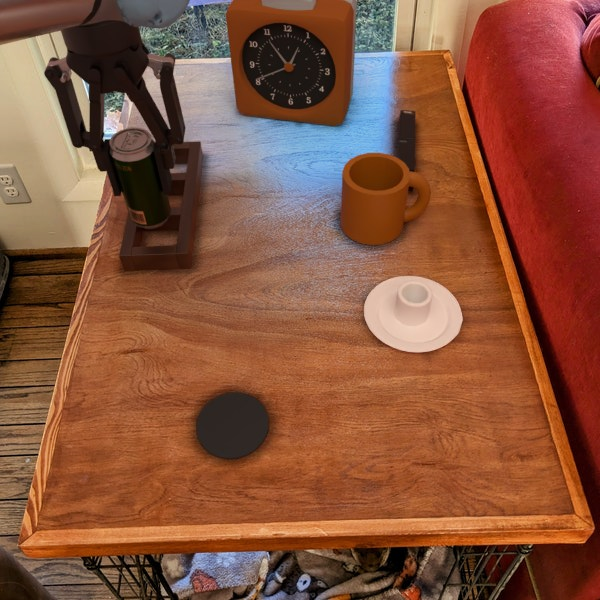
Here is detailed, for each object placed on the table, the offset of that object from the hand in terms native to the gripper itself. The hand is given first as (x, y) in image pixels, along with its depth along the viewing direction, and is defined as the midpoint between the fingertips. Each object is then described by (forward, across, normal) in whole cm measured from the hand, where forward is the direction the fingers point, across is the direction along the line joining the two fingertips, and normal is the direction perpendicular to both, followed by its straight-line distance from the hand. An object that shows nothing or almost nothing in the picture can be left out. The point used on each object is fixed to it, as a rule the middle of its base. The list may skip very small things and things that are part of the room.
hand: (143, 187), depth 78 cm
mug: (+11, -31, -3) cm, 33 cm away
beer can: (+5, 0, 0) cm, 5 cm away
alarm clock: (+10, -20, -32) cm, 39 cm away
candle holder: (+11, -33, +14) cm, 37 cm away
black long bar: (+10, -36, -18) cm, 42 cm away
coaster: (+11, -11, +28) cm, 32 cm away
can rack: (+11, 0, -8) cm, 13 cm away
